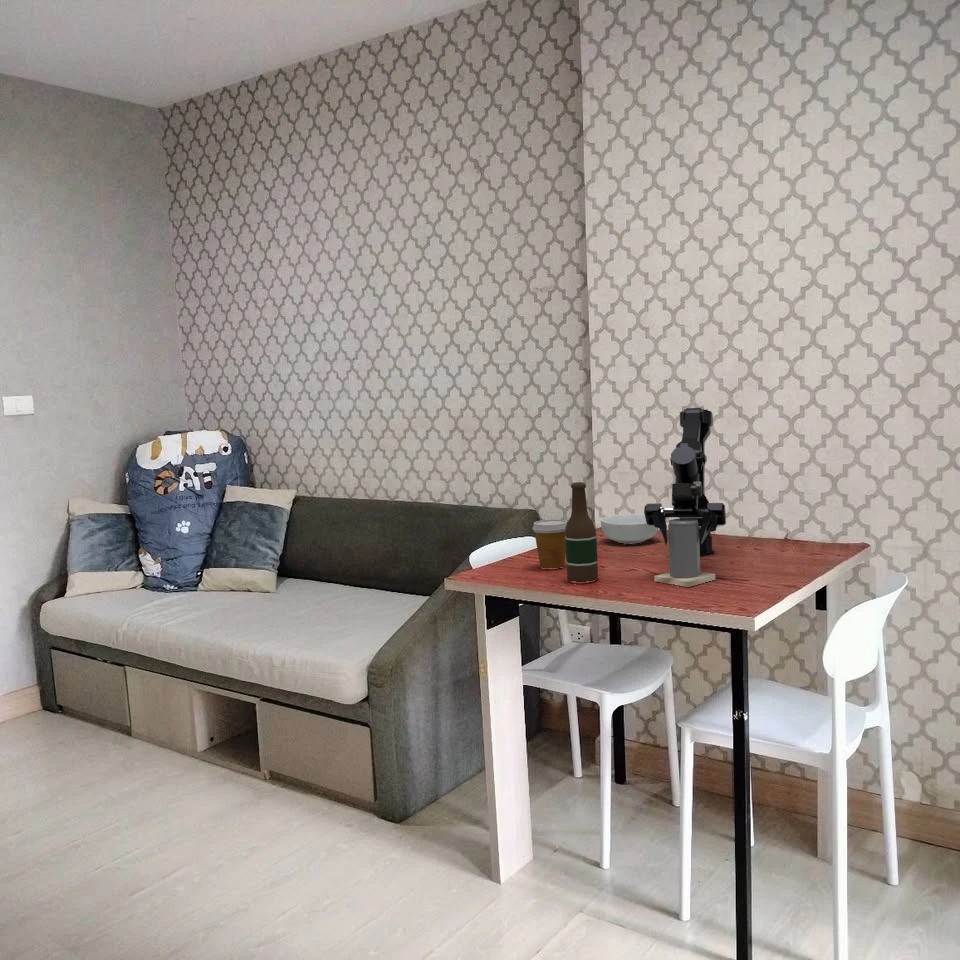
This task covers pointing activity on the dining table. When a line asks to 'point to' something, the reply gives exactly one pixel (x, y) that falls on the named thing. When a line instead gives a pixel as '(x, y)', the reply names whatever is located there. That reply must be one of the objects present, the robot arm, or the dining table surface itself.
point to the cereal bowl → (627, 528)
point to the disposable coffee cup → (550, 542)
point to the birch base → (685, 579)
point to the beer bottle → (580, 539)
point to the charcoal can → (684, 548)
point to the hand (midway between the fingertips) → (683, 543)
